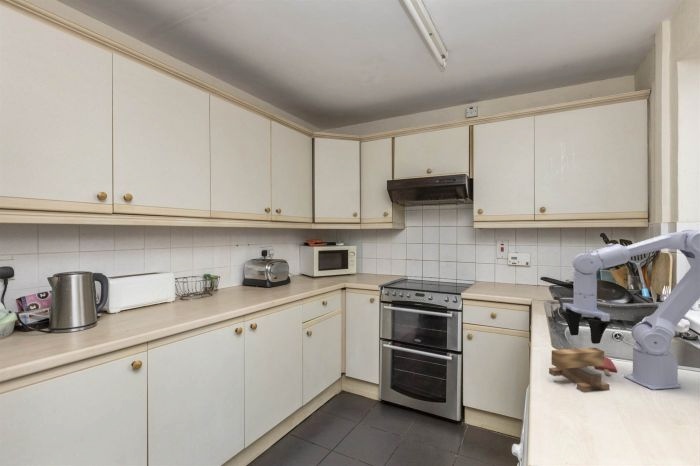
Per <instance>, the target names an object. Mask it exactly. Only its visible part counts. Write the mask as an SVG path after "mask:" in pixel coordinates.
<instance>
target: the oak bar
mask: <svg viewBox="0 0 700 466" xmlns="http://www.w3.org/2000/svg"><path fill="white" fill-rule="evenodd" d="M604 357H605V351H604V350H602V349H599V348H598V347H586V348H582V347H581V348H571V349H570V348H568V349H553V350H551V365H552V366H554V367H557V368H559V369H564V368H578V367H588V368H590V367H594V366H604Z"/></svg>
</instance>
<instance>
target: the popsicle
mask: <svg viewBox="0 0 700 466" xmlns="http://www.w3.org/2000/svg"><path fill="white" fill-rule="evenodd" d="M593 368H594V369H595V370H596V371H603V372H604V373H605V375H606V376H609V377H611V376H612V374H611V373H615V374H617V373H618V369H617V367H616V366H615V364H614V362H613V361H612V359H610V358H609V357H606V356H604V366H593Z"/></svg>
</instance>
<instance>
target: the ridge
mask: <svg viewBox="0 0 700 466" xmlns="http://www.w3.org/2000/svg"><path fill="white" fill-rule="evenodd" d="M548 373H549V374H550V375H552V376H554V377H557V376H562V377H564V378H566V379H568V380H570V381H571V382H573V383H575V384H576V389H577V390H579V391H580V392H582V393H588V392H591V393H592V392H602V391H610V385H611V384H610V383H608V382H606V381H603V380H602V373H601V372H598V370H596V369H595V370H594V369H592V368H590V367H578V368H564V369H559V368H557V367H555V366H554V367H549V368H548Z"/></svg>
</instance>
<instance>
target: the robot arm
mask: <svg viewBox="0 0 700 466" xmlns="http://www.w3.org/2000/svg"><path fill="white" fill-rule="evenodd" d="M665 249H667V250H668V249H670V250H678V251H679V252H681V253H682V254H683V256H684V257H685V259H686V260H687V262H688V264H689V266H690V267H689V269H688V270H687V271H686V273H685V274H684V275H683V277H682V278H681V279H680V280H679V281H678V283H677V284H676V285H675V286H674V288H673V289H672V290H671V291H670V293H669V294H668V295H667V296H666V297H665V299H664V300H663V301H662V302H661V304H659V306H658V307H657V309H656V310H655V311H654V312H653V313H652V314H651V315H649V316H646V317H645V318H644V319H643V320H642V321H641V322H639V323H636V324H635V325H634V326H633V327H632V328H631V333H630V334H631V336H632V339H633V340H634V341H635V343H634V344H633V345H632V374H628V375H627V374H624V377H623V378H626V379H628V380H630V381H632V382H635V383H637V384H639V385H641V386H643V387H646V388H647V389H650V390H652V391H653V390H664V389H675V388H682V385H681V384H678V382H679V380H678V379H679V376H678V375H679V373H678V372H679V371H678V370H679V364H678V363H679V362H678V359H677V358H676V356H675V355H674V354H673V353H672V352H671V351H669V350H670V349H671V346H672V340H673V339H674V337H675V334H676V327H677V326H678V324H679V323H680V322H681V321H682V319H683V318H685V316H686V314H688V312H690V310H691V309H692V307H694V305H695V304H696V303H697V301H698V300H699V299H700V229H699V230H697V229H696V230H695V229H684V230H681V231H675V232H669V233H665V234H661V235H660V234H659V235H658V236H655V237H651V238H647V239H645V240H642V241H639V242H635V243H632V244H628V245H622V244H620V243H616V244H615V243H607V244H606V246H605V247H602V248H598V249H595V250H593V249H590V250H588V253H587V252H586V253H585V252H582V253H579V254H576V255H575V256H574V257H573V258H572V259H573V260H572V262H571V264H572V267H573V268H574V271H573V276H574V277H573V299H572V300H573V302H572V303H570V302H563V303H562V309H563V310H565V311H561V315H562V316H563V317H564V320H565V321H566V323H567V327H568V330H569V334H570V335H571V336H579V332H580V323H581V319H582V316H587V317H591V318H586V320H587V323H588V325H589V330H590V342H591V343H592V344H594V345H600V344H601V341H602V337H603V335H604V333H605V331H606V329H607V327H609V326H610V324H611V313H607V312H604V311H602V310H599V309H598V308H597V305H598V295H597V294H598V279H597V271H599V269H600V270H603V269H608V268H611V267H616V266H620V265H623V264H626V263H628V262H629V260H630V259H631V257H636V256H639V255H643V254H648V253H653V252H657V251H660V250H665Z"/></svg>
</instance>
